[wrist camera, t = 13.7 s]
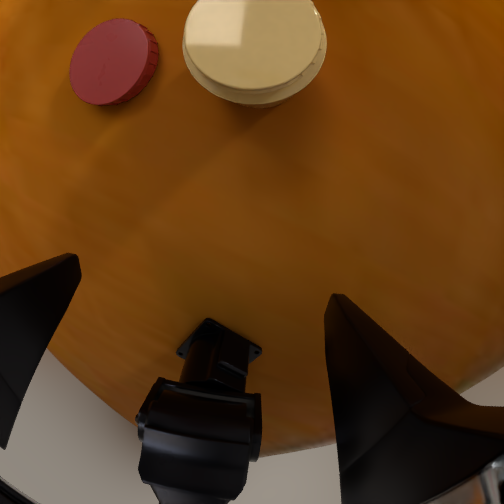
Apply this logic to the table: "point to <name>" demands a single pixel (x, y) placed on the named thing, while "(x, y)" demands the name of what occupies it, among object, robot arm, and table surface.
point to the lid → (113, 62)
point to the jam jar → (254, 48)
